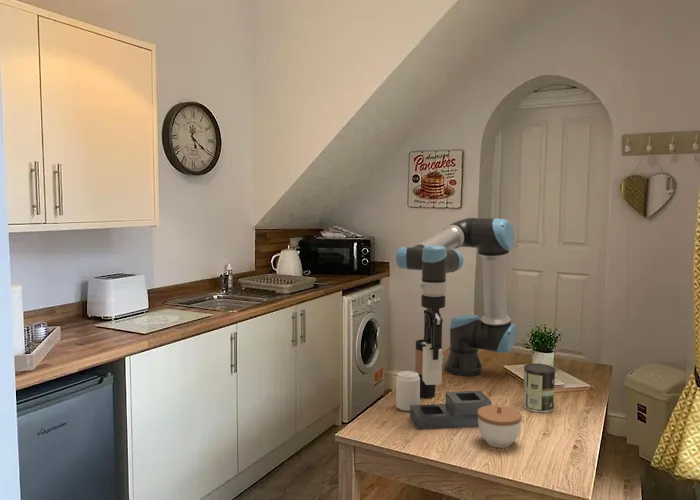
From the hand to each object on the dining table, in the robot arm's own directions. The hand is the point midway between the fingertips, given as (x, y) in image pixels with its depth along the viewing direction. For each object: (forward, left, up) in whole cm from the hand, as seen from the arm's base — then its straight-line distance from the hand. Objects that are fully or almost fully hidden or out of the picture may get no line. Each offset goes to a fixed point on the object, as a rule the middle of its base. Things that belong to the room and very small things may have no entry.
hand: (432, 366), depth 177 cm
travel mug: (-24, +4, -19) cm, 31 cm away
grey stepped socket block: (0, +6, -19) cm, 20 cm away
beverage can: (-13, -5, -19) cm, 24 cm away
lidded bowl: (+16, +16, -19) cm, 30 cm away
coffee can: (-8, +40, -19) cm, 45 cm away
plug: (0, 0, -5) cm, 5 cm away
